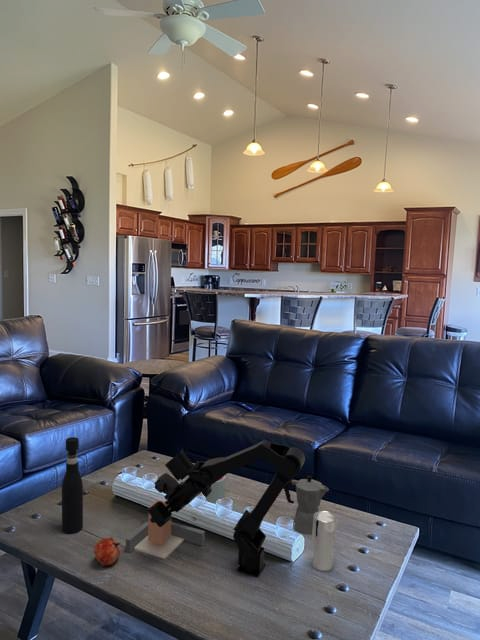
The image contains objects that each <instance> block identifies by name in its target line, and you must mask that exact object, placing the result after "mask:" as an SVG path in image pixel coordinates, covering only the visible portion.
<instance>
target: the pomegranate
mask: <svg viewBox="0 0 480 640" xmlns="http://www.w3.org/2000/svg"><path fill="white" fill-rule="evenodd" d="M120 545H122V543H121V542H117V540H116V539H115V538H114V537H104V538H101V539H100V540H98V541H97V543H96V544H95V545H94V547H93V553H94V555H95V558H93V559H94V561H96V560H97V561H98V562H99V563H100V564H101V565H102V566H110V565H113V564H114V563H116V561H117V560H118V559H119V557H120V555H121V551H122V548H121V546H120Z"/></svg>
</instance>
